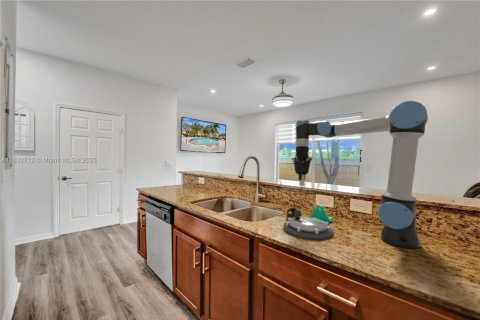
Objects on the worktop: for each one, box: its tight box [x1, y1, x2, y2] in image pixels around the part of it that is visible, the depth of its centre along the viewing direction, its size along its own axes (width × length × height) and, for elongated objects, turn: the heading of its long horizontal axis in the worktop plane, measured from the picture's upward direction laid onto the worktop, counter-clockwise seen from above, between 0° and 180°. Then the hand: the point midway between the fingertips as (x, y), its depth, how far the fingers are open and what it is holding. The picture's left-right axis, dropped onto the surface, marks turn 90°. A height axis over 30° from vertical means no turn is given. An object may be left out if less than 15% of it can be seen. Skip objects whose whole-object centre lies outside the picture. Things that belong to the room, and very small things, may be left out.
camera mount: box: [309, 204, 333, 223], centre depth 132 cm, size 12×8×10 cm, turn 50°
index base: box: [283, 220, 334, 241], centre depth 113 cm, size 26×26×3 cm
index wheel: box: [286, 209, 331, 234], centre depth 113 cm, size 22×22×7 cm
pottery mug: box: [286, 207, 303, 219], centre depth 136 cm, size 12×10×8 cm
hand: (301, 185), depth 122 cm, fingers closed
